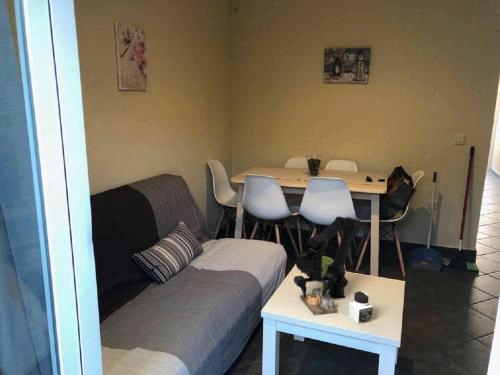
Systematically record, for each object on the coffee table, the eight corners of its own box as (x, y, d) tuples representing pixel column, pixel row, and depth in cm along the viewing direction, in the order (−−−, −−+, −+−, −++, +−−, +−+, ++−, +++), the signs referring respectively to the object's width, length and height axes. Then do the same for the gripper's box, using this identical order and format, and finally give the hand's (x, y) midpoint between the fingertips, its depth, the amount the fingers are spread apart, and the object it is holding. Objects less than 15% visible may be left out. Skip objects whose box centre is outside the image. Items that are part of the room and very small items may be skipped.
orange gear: (316, 298, 192) (317, 292, 191) (321, 304, 186) (322, 298, 186) (305, 299, 191) (305, 293, 190) (310, 305, 185) (310, 299, 184)
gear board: (321, 295, 198) (322, 285, 197) (336, 312, 182) (337, 301, 181) (300, 298, 196) (300, 287, 194) (313, 315, 179) (314, 303, 178)
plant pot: (328, 275, 223) (330, 255, 221) (334, 284, 212) (335, 264, 209) (307, 275, 223) (308, 255, 220) (312, 284, 211) (313, 264, 209)
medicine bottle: (358, 324, 172) (360, 298, 170) (348, 316, 179) (349, 291, 177) (371, 321, 175) (374, 295, 173) (361, 313, 182) (363, 288, 179)
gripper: (327, 257, 195) (325, 287, 198) (290, 260, 190) (289, 291, 193) (337, 266, 184) (335, 298, 187) (298, 269, 180) (297, 302, 183)
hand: (313, 297), depth 188 cm, fingers open, 9 cm apart
